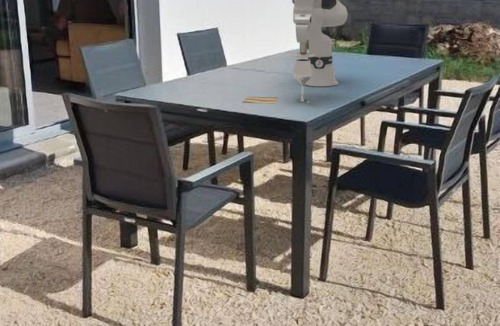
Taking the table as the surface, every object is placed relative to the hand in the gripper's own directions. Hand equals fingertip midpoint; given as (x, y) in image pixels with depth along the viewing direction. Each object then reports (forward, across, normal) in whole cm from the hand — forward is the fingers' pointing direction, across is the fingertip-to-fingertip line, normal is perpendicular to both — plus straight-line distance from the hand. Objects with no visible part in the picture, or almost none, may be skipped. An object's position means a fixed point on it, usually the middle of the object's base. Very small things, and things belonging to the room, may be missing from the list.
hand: (303, 51), depth 269 cm
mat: (+22, +1, -18) cm, 28 cm away
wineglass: (+22, 0, 0) cm, 22 cm away
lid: (+2, 0, 0) cm, 2 cm away
